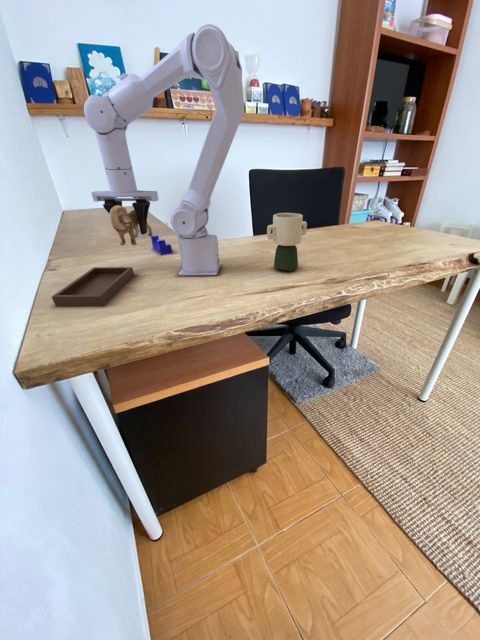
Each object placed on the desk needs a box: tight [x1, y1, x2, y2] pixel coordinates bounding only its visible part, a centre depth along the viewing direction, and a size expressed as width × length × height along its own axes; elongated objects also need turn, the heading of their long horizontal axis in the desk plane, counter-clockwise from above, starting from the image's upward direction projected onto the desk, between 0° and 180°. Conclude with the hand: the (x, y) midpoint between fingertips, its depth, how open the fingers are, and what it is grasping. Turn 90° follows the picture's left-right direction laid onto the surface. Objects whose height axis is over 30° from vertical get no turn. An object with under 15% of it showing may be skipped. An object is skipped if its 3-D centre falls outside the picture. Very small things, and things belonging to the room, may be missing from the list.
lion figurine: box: [108, 205, 153, 246], centre depth 71 cm, size 15×5×9 cm, turn 178°
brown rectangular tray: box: [51, 266, 135, 307], centre depth 66 cm, size 10×18×2 cm, turn 0°
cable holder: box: [150, 234, 173, 256], centre depth 90 cm, size 8×4×4 cm, turn 33°
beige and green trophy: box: [266, 212, 308, 272], centre depth 73 cm, size 11×7×13 cm, turn 115°
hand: (134, 233), depth 72 cm, fingers closed on lion figurine, 4 cm apart
